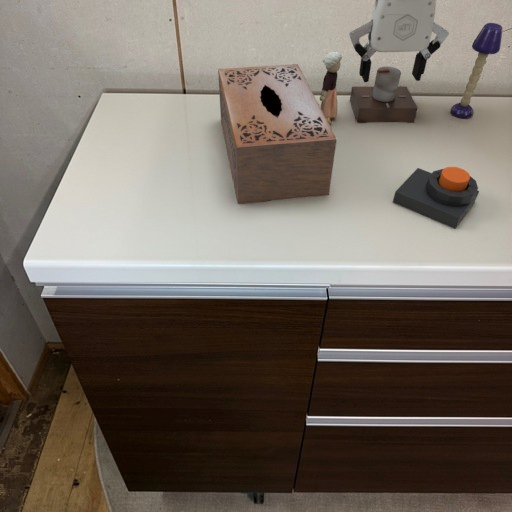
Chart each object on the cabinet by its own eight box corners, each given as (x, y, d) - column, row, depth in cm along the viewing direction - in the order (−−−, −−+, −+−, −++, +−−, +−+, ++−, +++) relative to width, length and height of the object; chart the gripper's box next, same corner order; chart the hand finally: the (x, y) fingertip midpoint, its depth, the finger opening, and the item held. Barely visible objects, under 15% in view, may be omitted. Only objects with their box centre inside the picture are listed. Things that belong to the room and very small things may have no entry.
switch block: (475, 201, 73) (484, 180, 71) (454, 229, 69) (463, 208, 66) (415, 177, 78) (421, 156, 75) (392, 202, 73) (397, 181, 70)
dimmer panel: (403, 100, 97) (406, 85, 94) (414, 122, 90) (418, 107, 88) (349, 100, 97) (352, 85, 94) (356, 122, 90) (359, 107, 88)
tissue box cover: (328, 195, 74) (336, 139, 67) (237, 203, 73) (236, 147, 66) (294, 114, 92) (297, 64, 85) (220, 120, 91) (218, 69, 84)
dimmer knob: (390, 90, 93) (395, 63, 89) (399, 100, 90) (405, 73, 86) (369, 92, 92) (373, 65, 89) (377, 103, 89) (382, 75, 86)
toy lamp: (477, 112, 93) (510, 23, 81) (471, 122, 90) (504, 32, 79) (453, 106, 95) (482, 18, 83) (446, 115, 92) (475, 26, 80)
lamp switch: (470, 182, 71) (474, 173, 69) (460, 195, 68) (464, 185, 67) (444, 173, 72) (448, 163, 71) (434, 185, 70) (437, 175, 69)
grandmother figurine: (334, 129, 89) (343, 61, 80) (314, 126, 89) (321, 59, 80) (338, 109, 94) (346, 44, 85) (318, 107, 94) (325, 42, 85)
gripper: (361, -16, 74) (347, 89, 86) (470, -19, 74) (442, 86, 86) (352, -29, 79) (341, 71, 91) (455, -32, 79) (430, 68, 91)
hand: (390, 78), depth 89 cm, fingers open, 9 cm apart
